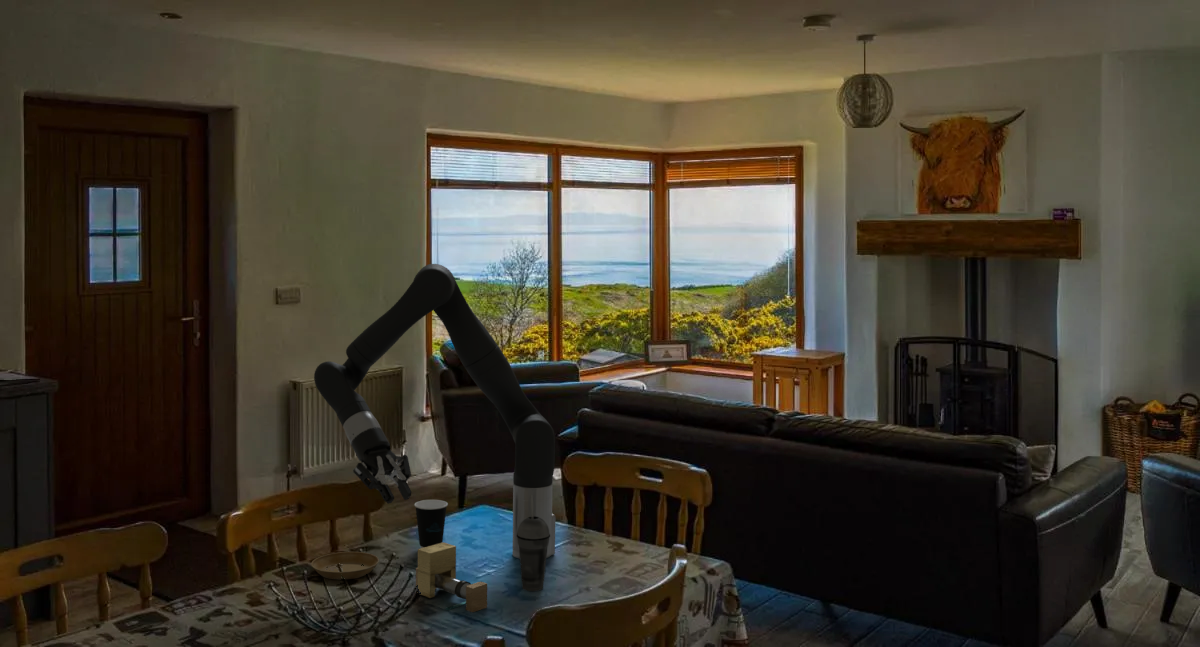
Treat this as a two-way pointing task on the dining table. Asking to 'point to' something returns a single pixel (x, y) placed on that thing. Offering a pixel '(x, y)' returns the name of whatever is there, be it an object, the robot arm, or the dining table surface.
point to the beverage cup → (533, 551)
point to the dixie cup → (430, 521)
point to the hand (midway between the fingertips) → (399, 499)
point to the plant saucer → (351, 564)
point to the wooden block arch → (435, 566)
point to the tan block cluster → (462, 591)
